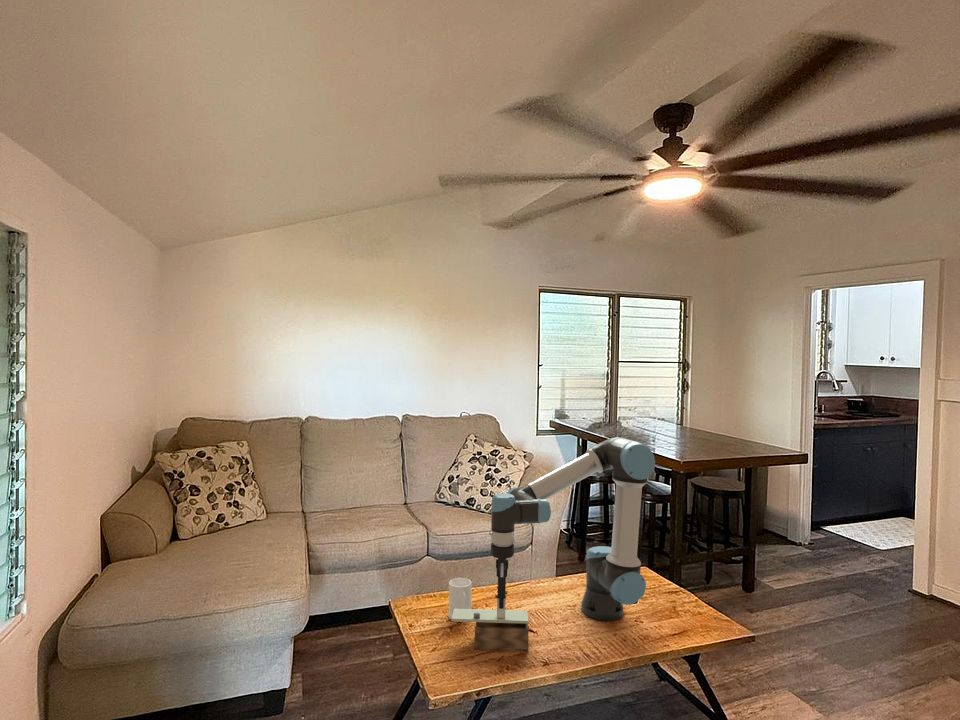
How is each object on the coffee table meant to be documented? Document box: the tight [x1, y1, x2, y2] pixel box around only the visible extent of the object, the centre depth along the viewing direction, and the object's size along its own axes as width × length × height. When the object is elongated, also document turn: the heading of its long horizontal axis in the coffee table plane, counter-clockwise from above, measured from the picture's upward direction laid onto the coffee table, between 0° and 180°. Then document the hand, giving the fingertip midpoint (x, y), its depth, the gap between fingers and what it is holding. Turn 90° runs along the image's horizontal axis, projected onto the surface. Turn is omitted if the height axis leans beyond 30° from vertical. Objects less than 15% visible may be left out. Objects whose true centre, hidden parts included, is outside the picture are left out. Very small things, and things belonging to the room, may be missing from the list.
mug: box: [447, 577, 472, 620], centre depth 189 cm, size 12×8×12 cm
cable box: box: [474, 622, 529, 652], centre depth 172 cm, size 17×9×7 cm, turn 88°
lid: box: [450, 608, 530, 625], centre depth 173 cm, size 24×10×2 cm, turn 88°
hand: (501, 616), depth 171 cm, fingers closed
